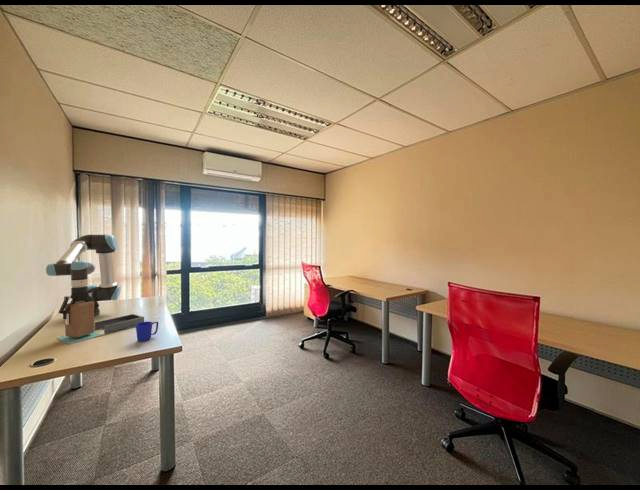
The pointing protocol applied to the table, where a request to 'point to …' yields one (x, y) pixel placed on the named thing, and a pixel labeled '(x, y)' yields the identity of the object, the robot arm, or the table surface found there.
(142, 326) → the mug
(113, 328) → the chute
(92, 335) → the pad
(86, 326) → the wooden block
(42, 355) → the table surface
